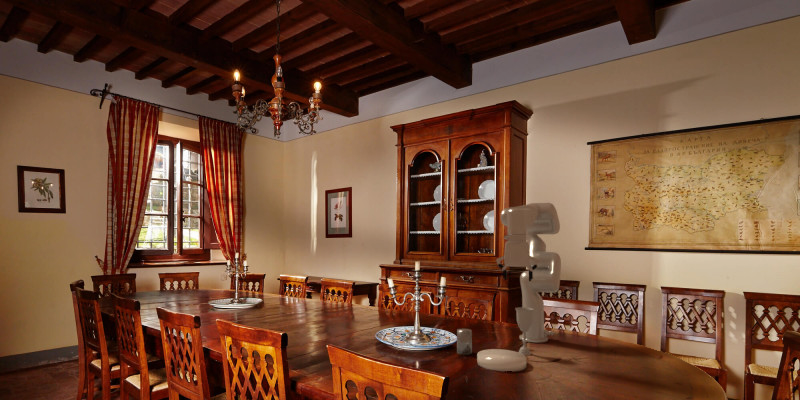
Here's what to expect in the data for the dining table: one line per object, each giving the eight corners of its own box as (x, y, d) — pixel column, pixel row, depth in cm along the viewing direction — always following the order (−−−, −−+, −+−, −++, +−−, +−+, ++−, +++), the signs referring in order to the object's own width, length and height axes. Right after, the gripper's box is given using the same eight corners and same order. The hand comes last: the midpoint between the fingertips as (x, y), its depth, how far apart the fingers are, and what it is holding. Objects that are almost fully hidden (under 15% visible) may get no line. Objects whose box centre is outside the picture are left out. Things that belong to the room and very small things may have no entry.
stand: (511, 355, 170) (511, 348, 170) (536, 369, 153) (535, 361, 153) (469, 358, 166) (469, 350, 166) (490, 373, 149) (489, 364, 149)
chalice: (532, 351, 177) (531, 307, 178) (535, 356, 170) (535, 310, 172) (514, 350, 178) (513, 307, 179) (517, 355, 171) (516, 309, 172)
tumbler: (468, 350, 178) (468, 328, 178) (474, 354, 172) (474, 331, 173) (454, 351, 176) (454, 329, 177) (460, 355, 170) (460, 332, 171)
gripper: (494, 238, 174) (495, 280, 173) (538, 239, 168) (539, 282, 167) (496, 238, 181) (497, 278, 180) (539, 238, 175) (540, 280, 174)
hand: (517, 280), depth 174 cm, fingers open, 9 cm apart
